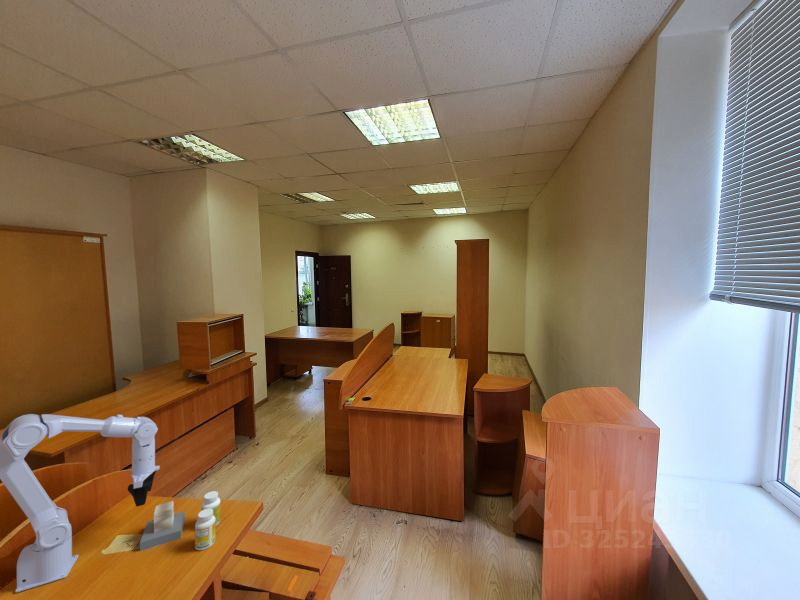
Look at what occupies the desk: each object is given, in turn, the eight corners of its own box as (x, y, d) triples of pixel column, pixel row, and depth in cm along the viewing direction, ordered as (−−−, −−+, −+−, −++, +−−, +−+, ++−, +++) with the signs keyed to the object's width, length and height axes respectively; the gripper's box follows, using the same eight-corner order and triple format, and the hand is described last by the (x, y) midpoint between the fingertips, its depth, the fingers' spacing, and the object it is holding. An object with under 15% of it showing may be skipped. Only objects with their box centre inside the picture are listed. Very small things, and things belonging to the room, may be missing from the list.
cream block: (154, 533, 95) (153, 514, 95) (156, 524, 99) (156, 505, 99) (172, 527, 98) (171, 509, 98) (173, 518, 101) (173, 500, 101)
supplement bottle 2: (201, 553, 91) (201, 521, 91) (191, 546, 93) (191, 515, 93) (219, 540, 96) (219, 510, 96) (209, 534, 98) (209, 504, 98)
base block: (139, 552, 92) (139, 542, 92) (147, 530, 100) (147, 521, 100) (180, 540, 97) (180, 530, 97) (184, 519, 105) (184, 511, 105)
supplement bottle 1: (211, 530, 100) (211, 501, 100) (197, 528, 101) (197, 498, 101) (224, 519, 105) (224, 490, 105) (210, 516, 106) (210, 488, 106)
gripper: (154, 463, 95) (154, 507, 95) (163, 444, 108) (163, 482, 108) (124, 469, 92) (124, 515, 92) (137, 448, 105) (137, 488, 105)
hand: (143, 497), depth 100 cm, fingers open, 7 cm apart
